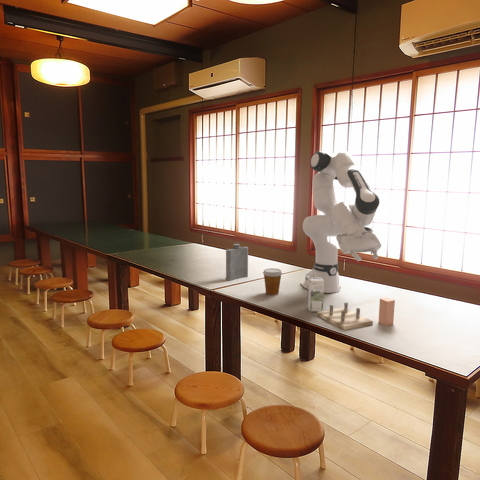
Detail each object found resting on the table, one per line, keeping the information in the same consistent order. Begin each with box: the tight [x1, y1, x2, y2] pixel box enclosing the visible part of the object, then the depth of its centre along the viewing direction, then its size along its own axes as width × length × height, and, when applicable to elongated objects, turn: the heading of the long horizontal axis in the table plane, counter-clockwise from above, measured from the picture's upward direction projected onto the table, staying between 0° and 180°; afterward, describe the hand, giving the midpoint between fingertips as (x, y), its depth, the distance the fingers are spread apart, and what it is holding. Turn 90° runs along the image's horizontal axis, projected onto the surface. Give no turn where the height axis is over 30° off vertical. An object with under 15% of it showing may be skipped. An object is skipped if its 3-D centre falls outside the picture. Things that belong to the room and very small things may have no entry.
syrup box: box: [307, 277, 325, 313], centre depth 179 cm, size 6×6×14 cm
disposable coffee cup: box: [262, 267, 283, 296], centre depth 204 cm, size 10×10×12 cm
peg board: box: [316, 302, 374, 331], centre depth 168 cm, size 18×14×6 cm
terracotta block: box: [378, 297, 396, 326], centre depth 164 cm, size 4×4×10 cm
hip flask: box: [225, 243, 249, 282], centre depth 233 cm, size 16×4×20 cm, turn 133°
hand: (368, 259), depth 173 cm, fingers open, 8 cm apart
